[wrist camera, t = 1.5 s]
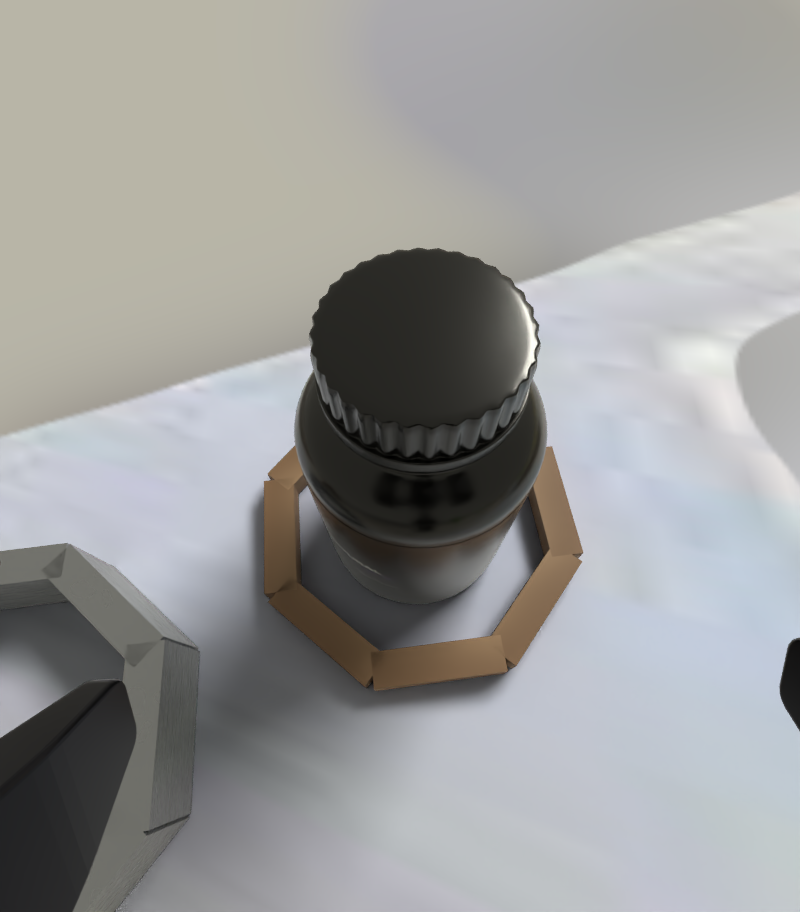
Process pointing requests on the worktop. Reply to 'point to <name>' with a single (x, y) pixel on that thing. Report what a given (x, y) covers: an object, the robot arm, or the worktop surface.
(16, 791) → the robot arm
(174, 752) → the hub socket
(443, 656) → the walnut ring
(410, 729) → the worktop surface
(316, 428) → the supplement bottle
